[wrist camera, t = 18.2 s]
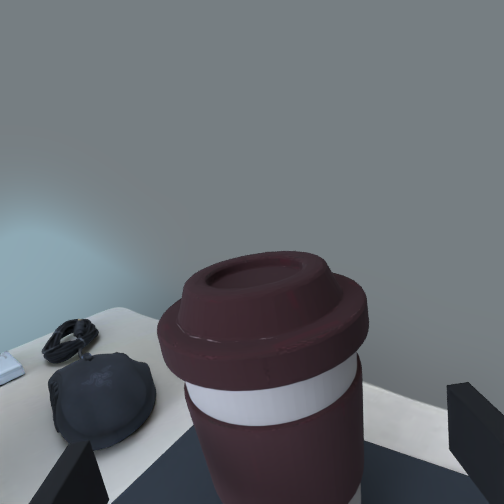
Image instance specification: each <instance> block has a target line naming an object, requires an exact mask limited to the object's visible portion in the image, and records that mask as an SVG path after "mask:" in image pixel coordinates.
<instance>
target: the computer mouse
mask: <svg viewBox="0 0 504 504" xmlns="http://www.w3.org/2000/svg"><path fill="white" fill-rule="evenodd" d="M71 333H74V336H75V337H76V338H77V339H76V340H74V341H68V342H64V343H61V344H60V340H61V339H62V338H63V337H65V336H67V335H69V334H71ZM98 333H99V331H98V330H97V329H96V328H95V325H94V324H92V323H91V321H90V320H88V319H74V320H69V321H66V322H65V323H63V324H62V325H61V326H59V327H58V328H57V329H56V330H55V332H54V333H53V335H52V337H51V338H50V339H49V340H48V342H47V343H46V345H45V346H44V348H43V349H42V354H44V358H45V359H46V360H48V361H49V362H51V363H61V362H64V361H66V360H68V359H70V358H72V357H73V356H74V355H75V354H76V353H78V355H79V357H80V360H77V361H75V362H73V363H71V364H69V365H67V366H65V367H64V368H62V369H59V370H57V371H56V372H55V373H54V374H53V375H52V376H51V378H50V379H49V381H48V388H49V392H50V401H51V406H52V410H53V421H54V425H55V428H56V430H57V432H60V433H61V435H62V436H63V438H64V439H65V440H66V441H67V442H68V443H73V442H79V441H86V440H90V442H91V445H92V449H93V451H94V450H100V449H103V448H106V447H109V446H112V445H114V444H116V443H118V442H120V441H121V440H123V439H125V438H126V437H128V436H129V435H130V434H132V433H133V432H134V431H135V430H136V429H138V428H139V427H140V426H141V425H142V424H143V423H144V421H145V420H146V419H147V418H148V417H149V415H150V413H151V411H152V409H153V406H154V402H155V398H156V389H155V386H154V383H153V379H152V375H151V372H150V368H149V366H148V364H146V363H143V362H138V361H135V360H133V359H131V358H129V357H128V355H126V354H124V353H118V352H116V353H113V354H98V355H93V356H92V355H91V354H90V353H89V352H88V353H85V354H83V355H82V352H81V351H82V349H83V348H84V347H85V346H86V345H88V344H89V343H90V342H91V340H93V339H94V338H95V337H96V336H97V335H98Z"/></svg>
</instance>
